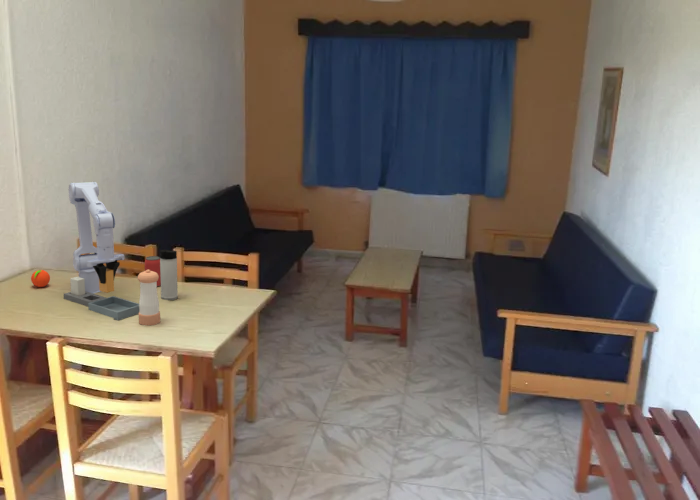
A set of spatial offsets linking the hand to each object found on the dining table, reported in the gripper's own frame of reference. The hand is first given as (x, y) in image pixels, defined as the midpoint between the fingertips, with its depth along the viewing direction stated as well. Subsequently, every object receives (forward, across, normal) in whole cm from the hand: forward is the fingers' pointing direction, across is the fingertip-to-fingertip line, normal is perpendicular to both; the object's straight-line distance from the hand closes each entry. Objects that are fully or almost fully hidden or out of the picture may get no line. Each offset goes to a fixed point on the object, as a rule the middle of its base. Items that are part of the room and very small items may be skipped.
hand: (107, 282), depth 229 cm
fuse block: (+10, 0, +14) cm, 17 cm away
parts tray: (+11, 0, -4) cm, 11 cm away
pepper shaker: (+11, +1, -21) cm, 24 cm away
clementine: (+10, 0, +43) cm, 44 cm away
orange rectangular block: (+3, 0, 0) cm, 3 cm away
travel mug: (+11, +23, -7) cm, 26 cm away
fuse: (+10, 0, +18) cm, 20 cm away
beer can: (+11, +30, +11) cm, 34 cm away
